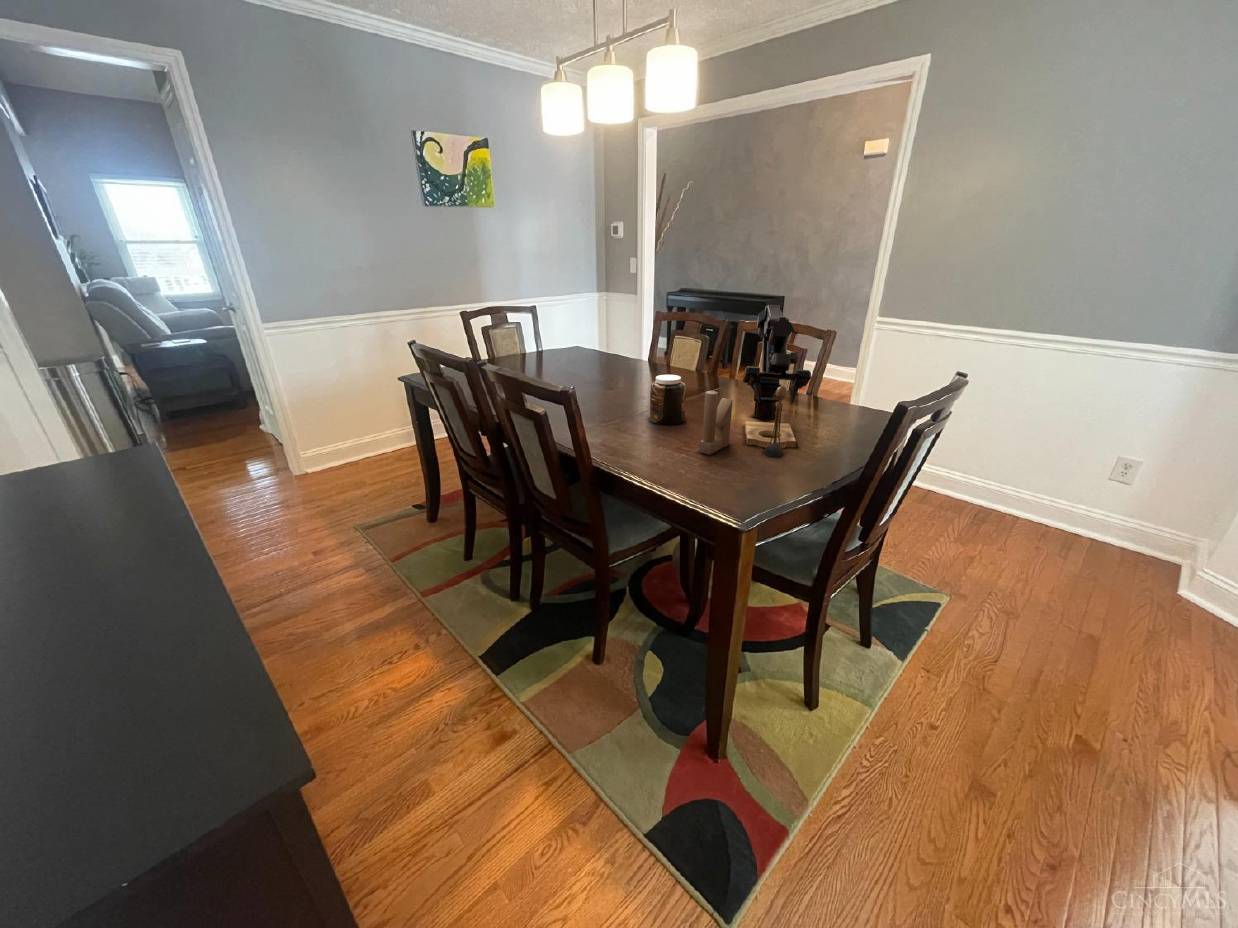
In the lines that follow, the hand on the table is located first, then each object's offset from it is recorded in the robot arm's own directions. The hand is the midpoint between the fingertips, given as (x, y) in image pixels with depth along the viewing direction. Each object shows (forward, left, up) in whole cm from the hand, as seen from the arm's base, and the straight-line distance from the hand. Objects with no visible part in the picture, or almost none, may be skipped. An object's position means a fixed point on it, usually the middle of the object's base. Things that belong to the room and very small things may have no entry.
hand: (775, 402), depth 144 cm
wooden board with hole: (-4, +5, -13) cm, 14 cm away
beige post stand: (-9, -16, -13) cm, 22 cm away
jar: (-37, -7, -13) cm, 40 cm away
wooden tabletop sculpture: (+5, -7, -13) cm, 16 cm away
